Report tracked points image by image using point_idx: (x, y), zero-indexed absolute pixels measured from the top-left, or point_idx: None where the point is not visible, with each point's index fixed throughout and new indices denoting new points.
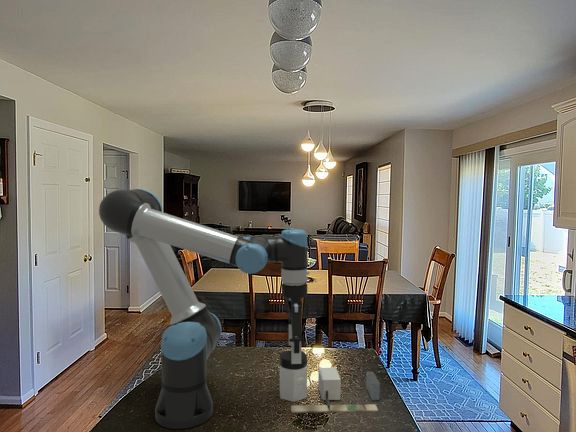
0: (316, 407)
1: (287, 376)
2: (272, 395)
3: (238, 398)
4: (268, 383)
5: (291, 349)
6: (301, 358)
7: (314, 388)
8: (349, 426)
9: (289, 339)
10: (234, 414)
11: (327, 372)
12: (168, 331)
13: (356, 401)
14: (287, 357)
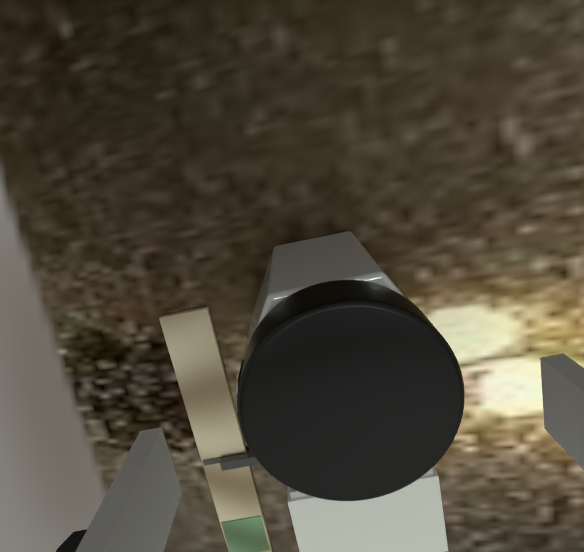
0: (216, 413)
1: (253, 327)
2: (301, 202)
3: (237, 18)
4: (431, 155)
5: (103, 521)
6: (301, 472)
7: None
8: None
9: (578, 392)
10: (74, 42)
11: (383, 514)
12: None
13: None
14: (299, 371)
